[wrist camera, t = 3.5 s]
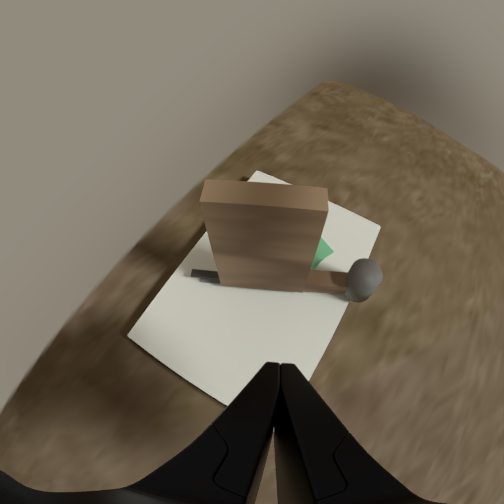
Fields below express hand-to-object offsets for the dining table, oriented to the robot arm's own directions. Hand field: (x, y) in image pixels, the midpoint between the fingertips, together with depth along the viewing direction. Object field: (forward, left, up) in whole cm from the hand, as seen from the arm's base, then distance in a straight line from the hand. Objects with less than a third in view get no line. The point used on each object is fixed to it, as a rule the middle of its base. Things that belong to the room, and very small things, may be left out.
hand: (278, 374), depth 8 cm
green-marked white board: (+4, -6, -9) cm, 12 cm away
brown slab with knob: (+3, -6, -8) cm, 10 cm away
